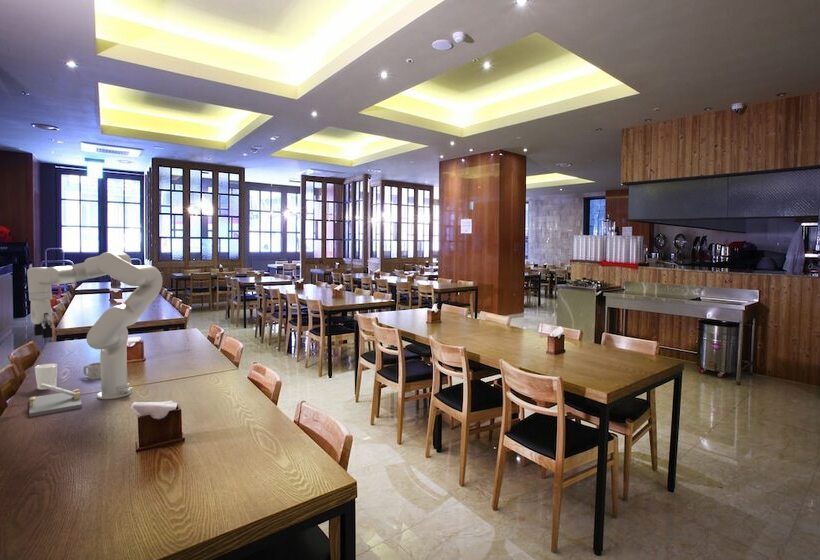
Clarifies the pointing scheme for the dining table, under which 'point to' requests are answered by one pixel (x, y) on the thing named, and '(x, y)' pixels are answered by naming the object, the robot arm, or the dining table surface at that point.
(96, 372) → the mug
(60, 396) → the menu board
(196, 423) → the dining table surface
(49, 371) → the white cup
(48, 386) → the bar
